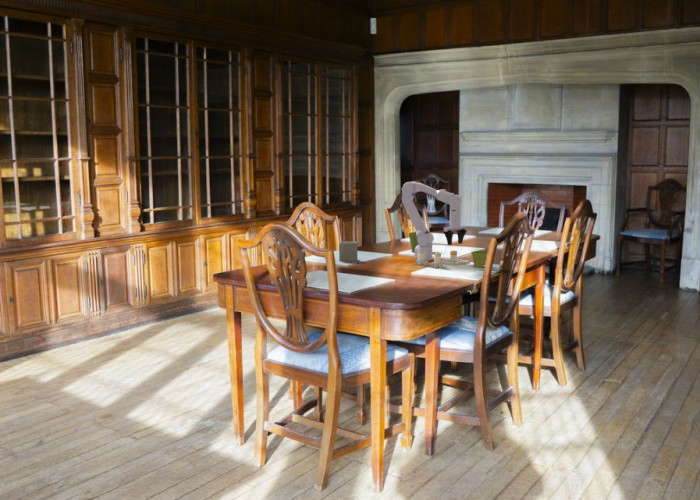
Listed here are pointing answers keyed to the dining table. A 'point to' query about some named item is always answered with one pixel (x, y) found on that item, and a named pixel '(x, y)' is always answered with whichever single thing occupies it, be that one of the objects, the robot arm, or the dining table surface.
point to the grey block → (347, 251)
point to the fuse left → (421, 256)
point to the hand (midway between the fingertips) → (455, 244)
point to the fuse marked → (453, 256)
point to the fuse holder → (431, 265)
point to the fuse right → (437, 260)
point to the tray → (455, 263)
